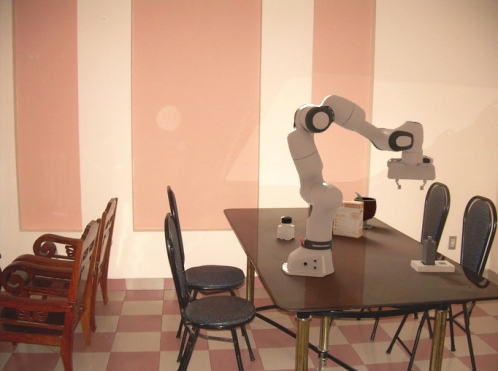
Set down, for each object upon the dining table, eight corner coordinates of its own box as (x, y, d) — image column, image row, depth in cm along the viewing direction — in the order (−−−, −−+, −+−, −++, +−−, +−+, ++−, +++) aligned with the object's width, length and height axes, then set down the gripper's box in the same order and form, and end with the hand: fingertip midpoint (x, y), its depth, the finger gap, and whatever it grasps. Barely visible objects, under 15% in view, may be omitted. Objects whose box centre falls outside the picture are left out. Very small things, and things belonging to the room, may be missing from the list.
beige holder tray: (417, 275, 207) (418, 265, 206) (410, 269, 214) (411, 260, 214) (454, 275, 207) (454, 266, 207) (445, 269, 215) (446, 260, 214)
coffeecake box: (362, 235, 273) (364, 201, 270) (358, 238, 266) (360, 203, 264) (337, 232, 280) (338, 198, 277) (332, 234, 274) (334, 200, 271)
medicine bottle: (294, 237, 265) (295, 216, 263) (288, 240, 259) (289, 218, 257) (283, 235, 269) (283, 214, 267) (276, 238, 263) (277, 217, 261)
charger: (425, 270, 208) (427, 237, 206) (421, 267, 213) (423, 235, 211) (434, 270, 208) (436, 237, 206) (430, 267, 213) (432, 235, 211)
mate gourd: (380, 227, 293) (382, 194, 290) (363, 229, 286) (365, 196, 283) (362, 222, 307) (364, 191, 304) (345, 224, 300) (347, 192, 297)
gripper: (387, 158, 212) (385, 189, 214) (436, 159, 206) (435, 191, 208) (387, 157, 218) (386, 187, 220) (435, 158, 212) (434, 189, 214)
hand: (410, 189), depth 214 cm, fingers open, 8 cm apart
